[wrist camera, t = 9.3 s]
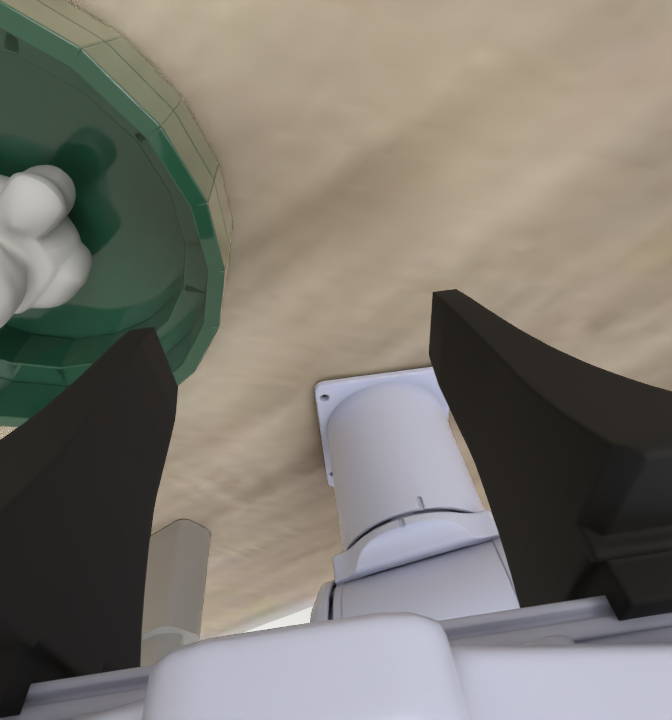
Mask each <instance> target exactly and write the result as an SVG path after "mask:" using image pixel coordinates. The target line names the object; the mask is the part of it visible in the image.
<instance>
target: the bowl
mask: <svg viewBox="0 0 672 720" xmlns="http://www.w3.org/2000/svg"><path fill="white" fill-rule="evenodd" d="M182 99H183V98H182V97H181V95H180V94H179V93H178V92H177V91H176V90H175V89H174V88H173V87H172V86H171V85H170V84H169V83H168V82H167V81H166V80H165V79H164V78H163V77H162V76H161V75H160V74H159V73H158V72H157V71H156V69H155V68H154V67H153V66H152V65H151V64H150V63H149V62H148V61H147V60H146V59H145V58H144V57H143V56H142V55H141V54H140V53H139V52H138V51H137V50H136V49H135V48H134V47H133V46H132V44H131V43H130V42H129V41H128V40H127V39H126V38H124V37H123V36H122V35H121V34H120V33H118V32H116V31H115V30H113V29H111V28H110V27H108V26H107V25H105V24H103V23H102V22H100V21H98V20H97V19H95V18H94V17H92V16H90V15H89V14H87V13H85V12H84V11H82V10H81V9H79V8H77V7H76V6H74V5H72V4H71V3H69V2H68V1H66V0H0V175H4V176H7V177H11V176H12V175H13V174H15V173H19V172H23V171H25V170H27V169H29V168H31V167H34V166H38V165H52V166H55V167H58V168H60V169H61V170H62V171H64V172H65V173H66V174H67V175H68V176H69V177H70V178H71V180H72V181H73V183H74V186H75V192H76V199H75V203H74V206H73V208H72V209H71V211H70V212H69V214H68V215H67V216H68V217H69V219H70V220H71V221H72V223H73V224H74V226H75V227H76V229H77V231H78V233H79V235H80V239H81V242H82V243H83V244H84V245H85V246H86V247H87V248H88V249H89V251H90V253H91V256H92V268H91V271H90V273H89V276H88V279H87V281H86V282H85V284H84V285H83V286H82V287H81V288H80V289H79V290H78V291H77V293H76V294H75V295H74V296H73V297H72V298H71V299H70V300H69V301H68V302H66V303H64V304H62V305H60V306H56V307H52V308H42V309H41V308H30V309H28V310H26V311H25V312H23V313H19V314H13V315H12V317H11V318H10V319H9V320H8V322H7V323H6V324H5V325H4V326H2V327H1V328H0V426H8V427H19V426H20V425H22V424H23V423H25V422H26V421H27V420H29V419H30V418H31V417H32V416H34V415H35V414H36V413H38V412H39V411H40V410H41V409H43V408H44V407H45V406H46V405H47V404H49V403H50V402H51V401H52V400H53V399H54V398H56V397H57V396H58V395H59V394H60V393H61V392H63V391H64V390H65V389H66V388H67V387H68V386H70V385H71V384H72V383H73V382H74V381H75V380H76V379H78V378H79V377H80V376H81V375H82V374H83V373H84V372H85V371H86V370H87V369H88V368H89V367H90V366H91V365H92V364H93V363H95V362H96V361H97V360H98V359H99V358H100V357H101V356H102V355H103V354H104V353H105V352H106V351H107V350H108V349H109V348H110V347H111V346H112V345H114V344H115V343H116V342H117V341H118V340H119V339H120V338H121V337H122V336H123V335H125V334H126V333H127V332H128V331H130V330H134V329H142V328H150V327H154V328H155V330H156V333H157V335H158V338H159V340H160V343H161V345H162V348H163V350H164V353H165V355H166V358H167V360H168V363H169V365H170V368H171V371H172V373H173V376H174V378H175V381H176V383H177V386H178V385H179V384H181V383H182V382H183V381H184V380H185V379H187V378H188V377H189V376H190V375H191V374H193V373H194V372H195V370H196V369H197V367H198V366H199V364H200V362H201V360H202V358H203V356H204V355H205V353H206V351H207V349H208V347H209V345H210V343H211V342H212V340H213V338H214V336H215V334H216V332H217V330H218V329H219V325H220V319H221V313H222V306H223V299H224V292H225V286H226V279H227V273H228V264H229V254H230V245H231V236H232V227H233V225H232V223H233V221H232V217H231V212H230V208H229V203H228V199H227V194H226V190H225V185H224V181H223V176H222V172H221V168H220V164H218V160H217V158H216V156H215V155H214V153H213V151H212V149H211V147H210V146H209V144H208V142H207V140H206V138H205V137H204V135H203V133H202V131H201V129H200V128H199V126H198V124H197V122H196V120H195V119H194V117H193V115H192V113H191V111H190V110H189V108H188V106H187V104H186V102H185V101H184V100H182Z"/></svg>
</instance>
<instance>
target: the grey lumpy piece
mask: <svg viewBox="0 0 672 720" xmlns="http://www.w3.org/2000/svg"><path fill="white" fill-rule="evenodd" d="M75 199H76V192H75V186H74V183H73V181H72V180H71V178H70V177H69V176H68V175H67V174H66V173H65V172H64V171H62V170H61V169H60V168H58V167H55V166H52V165H38V166H34V167H31V168H29V169H27V170H25V171H23V172H19V173H15V174H13V175H12V176H11V177H7V176H4V175H0V328H1V327H2V326H4V325H5V324H6V323H7V322H8V320H9V319H10V318H11V317H12V315H13V314H19V313H23V312H25V311H26V310H28V309H30V308H41V309H42V308H52V307H56V306H60V305H62V304H64V303H66V302H68V301H69V300H70V299H71V298H72V297H73V296H74V295H75V294H76V293H77V291H78V290H79V289H80V288H81V287H82V286H83V285H84V284H85V282H86V281H87V279H88V276H89V273H90V271H91V268H92V256H91V253H90V251H89V249H88V248H87V247H86V246H85V245H84V244H83V243H82V242H81V239H80V235H79V233H78V231H77V229H76V227H75V226H74V224H73V223H72V221H71V220H70V219H69V217H68V216H67V215H68V214H69V212H70V211H71V209H72V208H73V206H74V203H75Z"/></svg>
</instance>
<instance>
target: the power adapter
mask: <svg viewBox="0 0 672 720" xmlns="http://www.w3.org/2000/svg"><path fill="white" fill-rule="evenodd" d="M210 537H211V532H210V531H209V530H208V529H206V528H204V527H202V526H200V525H198V524H196V523H194V522H192V521H190V520H184V519H183V520H178V521H176V522H174V523H172V524H170V525H169V526H167V527H165V528H164V529H162V530H160V531H159V532H157V533H155V534H154V535H152V536H150V543H149V552H148V562H147V572H146V582H145V594H144V608H143V622H142V639H141V661H140V667H143V666H150V665H155V664H156V663H157V662H158V661H159V660H161V659H162V658H163V657H165V656H166V655H167V654H169V653H170V652H171V651H173V650H174V649H175V648H177V647H180V646H183V645H187V644H190V643H194V642H196V641H198V640H199V638H200V630H201V621H202V611H203V602H204V593H205V584H206V574H207V565H208V556H209V546H210Z"/></svg>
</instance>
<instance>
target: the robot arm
mask: <svg viewBox="0 0 672 720" xmlns="http://www.w3.org/2000/svg"><path fill="white" fill-rule="evenodd" d="M429 356H430V360H431V363H432V366H433V367H426V368H418V369H411V370H403V371H395V372H388V373H380V374H373V375H365V376H357V377H350V378H342V379H335V380H327V381H321V382H318V383H317V384H316V385H315V388H314V389H315V397H316V404H317V411H318V418H319V425H320V432H321V439H322V446H323V453H324V460H325V467H326V474H327V481H328V485H329V486H331V487H334V488H335V496H336V504H337V511H338V519H339V526H340V534H341V542H342V549H343V553H341V554H338V555H335V556H333V558H332V559H333V568H334V577H335V580H333V581H330V582H326V583H324V584H323V585H322V586H321V588H320V590H319V592H318V595H317V599H316V601H315V603H314V605H313V609H312V613H311V619H310V623H306V624H299V625H293V626H287V627H280V628H274V629H267V630H261V631H254V632H247V633H241V634H234V635H227V636H221V637H214V638H209V639H205V640H201V641H198V642H194V643H190V644H187V645H183V646H180V647H177V648H175V649H174V650H173V651H171V652H170V653H169V654H167V655H166V656H165V657H163V658H162V659H161V660H159V661H158V662H157V663H156V664H155V665H150V666H143V667H140V661H141V639H142V622H143V608H144V594H145V582H146V572H147V562H148V552H149V543H150V535H151V528H152V520H153V512H154V506H155V501H156V496H157V492H158V488H159V484H160V480H161V476H162V472H163V468H164V464H165V460H166V456H167V452H168V448H169V443H170V439H171V435H172V431H173V426H174V422H175V415H176V405H177V392H178V386H177V383H176V381H175V378H174V376H173V373H172V371H171V368H170V365H169V363H168V360H167V358H166V355H165V353H164V350H163V348H162V345H161V343H160V340H159V338H158V335H157V333H156V330H155V328H154V327H150V328H142V329H134V330H130V331H128V332H127V333H126V334H125V335H123V336H122V337H121V338H120V339H119V340H118V341H117V342H116V343H115V344H114V345H112V346H111V347H110V348H109V349H108V350H107V351H106V352H105V353H104V354H103V355H102V356H101V357H100V358H99V359H98V360H97V361H96V362H95V363H93V364H92V365H91V366H90V367H89V368H88V369H87V370H86V371H85V372H84V373H83V374H82V375H81V376H80V377H79V378H78V379H76V380H75V381H74V382H73V383H72V384H71V385H70V386H68V387H67V388H66V389H65V390H64V391H63V392H61V393H60V394H59V395H58V396H57V397H56V398H54V399H53V400H52V401H51V402H50V403H49V404H47V405H46V406H45V407H44V408H43V409H41V410H40V411H39V412H38V413H36V414H35V415H34V416H32V417H31V418H30V419H29V420H27V421H26V422H25V423H23V424H22V425H20V426H19V427H18V428H16V429H15V430H14V431H12V432H11V433H9V434H8V435H7V436H5V437H4V438H2V439H1V440H0V720H672V391H668V390H665V389H661V388H658V387H654V386H651V385H647V384H644V383H641V382H638V381H635V380H632V379H629V378H626V377H623V376H620V375H617V374H615V373H612V372H609V371H606V370H604V369H601V368H598V367H596V366H593V365H591V364H588V363H586V362H583V361H581V360H579V359H577V358H575V357H572V356H570V355H568V354H566V353H563V352H561V351H559V350H557V349H555V348H553V347H551V346H549V345H547V344H545V343H543V342H541V341H540V340H538V339H536V338H534V337H532V336H530V335H529V334H527V333H525V332H523V331H522V330H520V329H518V328H516V327H515V326H513V325H512V324H510V323H508V322H507V321H505V320H503V319H502V318H500V317H499V316H497V315H496V314H494V313H493V312H491V311H489V310H488V309H486V308H485V307H483V306H482V305H480V304H479V303H477V302H476V301H474V300H473V299H471V298H470V297H468V296H467V295H465V294H463V293H462V292H460V291H458V290H457V289H453V290H445V291H437V292H433V299H432V314H431V329H430V344H429ZM322 395H327V396H325V397H322ZM449 410H450V411H451V413H452V415H453V417H454V419H455V421H456V423H457V425H458V427H459V429H460V431H461V434H462V436H463V438H464V440H465V442H466V444H467V446H468V448H469V450H470V453H471V455H472V457H473V460H474V462H475V464H476V467H477V470H478V473H479V476H480V479H481V481H482V484H483V487H484V490H485V493H486V496H487V499H488V502H489V505H490V508H491V511H492V514H493V517H494V520H495V522H494V520H493V517H492V515H491V513H490V511H489V510H484V508H483V506H482V503H481V501H480V498H479V496H478V494H477V491H476V489H475V486H474V484H473V482H472V479H471V477H470V474H469V472H468V470H467V467H466V465H465V462H464V460H463V457H462V455H461V453H460V450H459V448H458V445H457V443H456V441H455V438H454V436H453V433H452V431H451V429H450V426H449V424H448V419H449ZM495 523H496V524H495Z"/></svg>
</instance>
